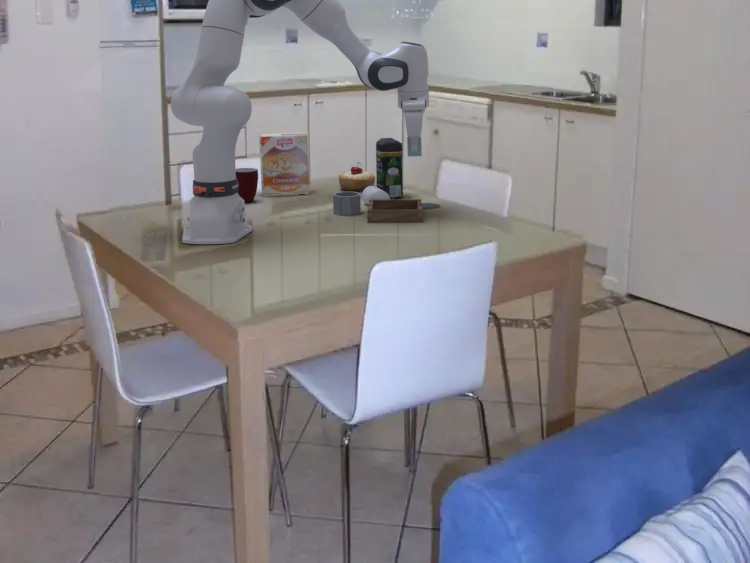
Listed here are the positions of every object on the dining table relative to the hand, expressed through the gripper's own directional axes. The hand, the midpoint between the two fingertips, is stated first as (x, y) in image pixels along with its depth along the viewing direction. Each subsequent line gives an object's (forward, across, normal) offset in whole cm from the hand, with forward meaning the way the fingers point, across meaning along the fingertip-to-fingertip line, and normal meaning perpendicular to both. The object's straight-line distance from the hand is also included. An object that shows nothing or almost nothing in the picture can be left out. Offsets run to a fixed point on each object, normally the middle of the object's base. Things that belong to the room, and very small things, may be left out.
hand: (414, 149), depth 264 cm
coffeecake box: (+19, -29, -42) cm, 54 cm away
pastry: (+19, -36, -19) cm, 45 cm away
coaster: (+19, -5, +3) cm, 20 cm away
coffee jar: (+19, -23, -8) cm, 31 cm away
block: (+2, 0, 0) cm, 2 cm away
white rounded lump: (+18, -7, -10) cm, 22 cm away
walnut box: (+18, +9, -6) cm, 21 cm away
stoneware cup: (+18, +3, -20) cm, 27 cm away
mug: (+18, -17, -54) cm, 59 cm away
